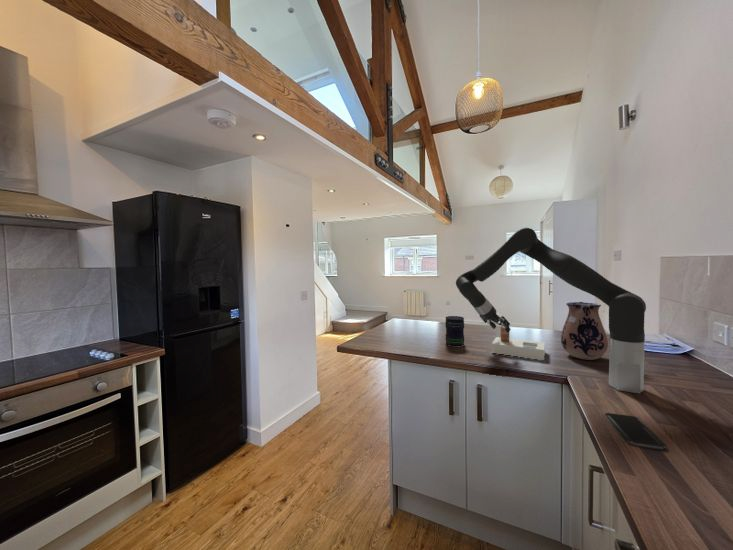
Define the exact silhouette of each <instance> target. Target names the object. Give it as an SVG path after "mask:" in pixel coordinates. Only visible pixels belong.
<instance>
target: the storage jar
mask: <svg viewBox="0 0 733 550" xmlns="http://www.w3.org/2000/svg"><path fill="white" fill-rule="evenodd" d="M464 328H465V317H463V316H459V315H449V316H448V315H447V316H445V345H446V344H447V345H450V346H462V345H464V346H465V335H464ZM447 345H446V346H447ZM450 346H449V347H450Z"/></svg>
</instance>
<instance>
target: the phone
mask: <svg viewBox="0 0 733 550" xmlns="http://www.w3.org/2000/svg"><path fill="white" fill-rule="evenodd" d="M604 417H605V418H606V419H607V421H608V422H609V423H610V425H612V427H613V428H614V429H615V431H616V432H617V433H618V434H619V435H620V437H621V438H622V439H623V441H624V442H625V443H626V444H628V445H630V446H632V447H639V448H645V449H650V450H656V451H657V450H658V451H667V450H668V446H667V444H666V443H664V442H663V441H662V440H661V439H660V438H659V437H658V435H656V434H655V433H654V432H653V431H652V430H651V429H650V428H649V427H648V426H647V425H646V424H645V423H644V422H643V421H642V420H641V419H640V418H639V417H637V416H634V415H629V414H628V415H626V414H618V413H610V412H606V413H605V415H604Z"/></svg>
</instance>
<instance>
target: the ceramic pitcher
mask: <svg viewBox="0 0 733 550" xmlns="http://www.w3.org/2000/svg"><path fill="white" fill-rule="evenodd" d="M566 306H567V308H568V314H567V316H566V319H565V322H564V324H563V327H562V331H561V335H560V342H561V346H562V348H563V349H564V351H565V352H566V353H567V354H568V355H570V356H571V357H573V358H577V359H580V360H585V361H586V360H587V361H595V360H598V359H600V358H602V357H603V356H604V354H606V353H607V350H608V348H609V339H608V336H607V333H606V331H605V328H604V326H603V323H602V320H601V317H600V314H599V313H600V312H599V309H600V308H601V306H602V304H598V303H593V302H583V301H578V302H577V301H575V302H574V301H573V302H567V303H566Z"/></svg>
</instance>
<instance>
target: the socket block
mask: <svg viewBox="0 0 733 550" xmlns="http://www.w3.org/2000/svg"><path fill="white" fill-rule="evenodd" d="M545 349H546V342H545V341H537V340H536V341H534V340H527V339H516V338H509V342H502V341H501V336H500V337H499V336H496V337H495V338H494V340H493V341H492V343H491V354H492V353H498V354H505V355H512V356H511V357H513V356H518V357H517V358H520V357H524V358H523V359H527V358H530V359H529V360H534V359H538V360H537V361H541V360H544V361H545V357H544V356H545V354H546V352H545V351H546V350H545ZM498 354H497V355H498ZM505 355H504V356H505Z"/></svg>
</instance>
